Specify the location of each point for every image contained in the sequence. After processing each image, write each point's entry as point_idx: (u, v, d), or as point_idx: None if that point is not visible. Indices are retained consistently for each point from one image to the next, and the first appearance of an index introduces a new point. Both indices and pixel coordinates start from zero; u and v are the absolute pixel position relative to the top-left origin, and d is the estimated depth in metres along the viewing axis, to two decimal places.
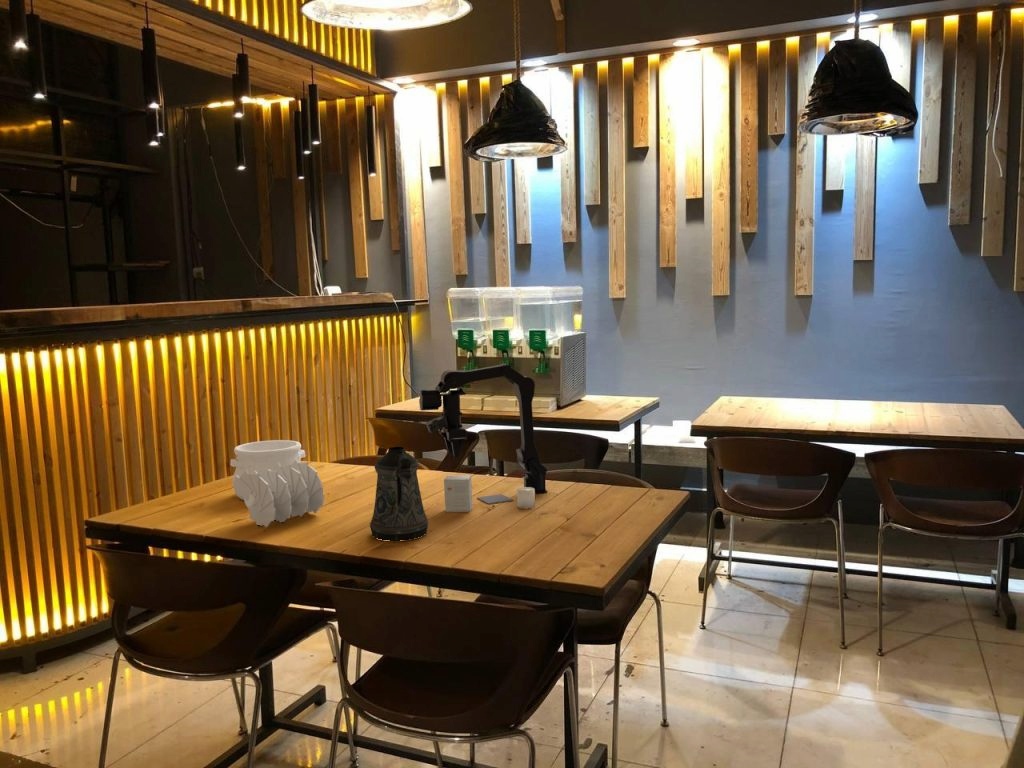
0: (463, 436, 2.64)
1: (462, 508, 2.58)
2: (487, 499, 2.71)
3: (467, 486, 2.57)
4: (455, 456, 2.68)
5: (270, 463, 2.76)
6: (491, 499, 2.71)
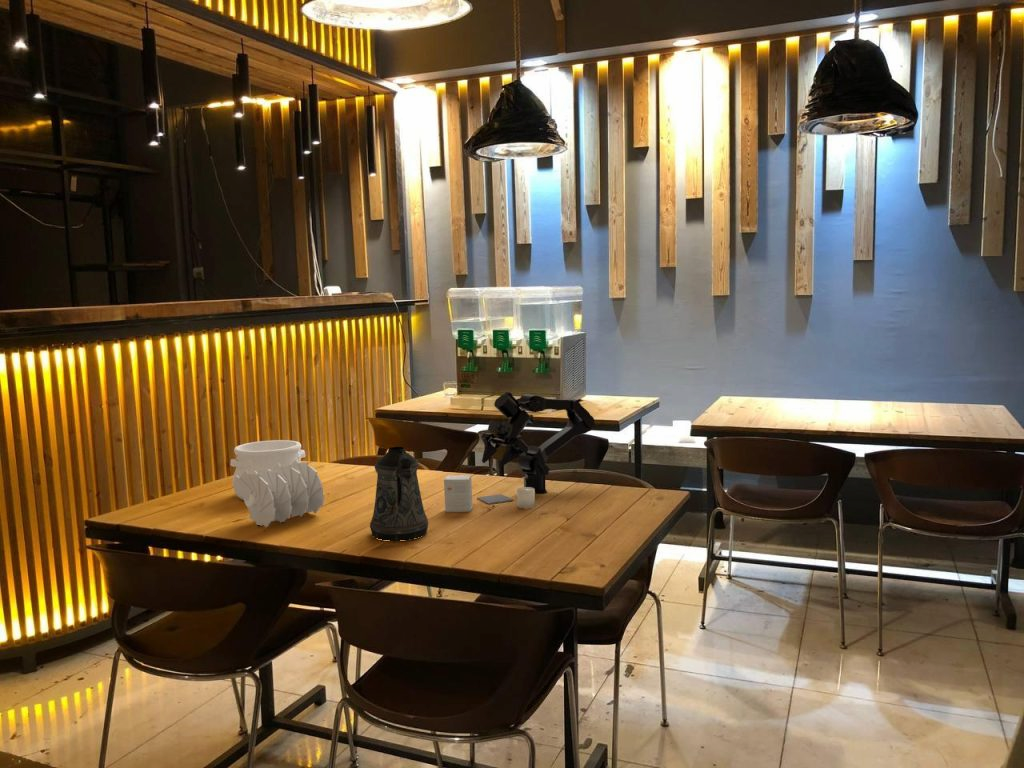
0: (524, 451, 2.66)
1: (462, 508, 2.58)
2: (487, 499, 2.71)
3: (467, 486, 2.57)
4: (501, 464, 2.66)
5: (270, 463, 2.76)
6: (491, 499, 2.71)
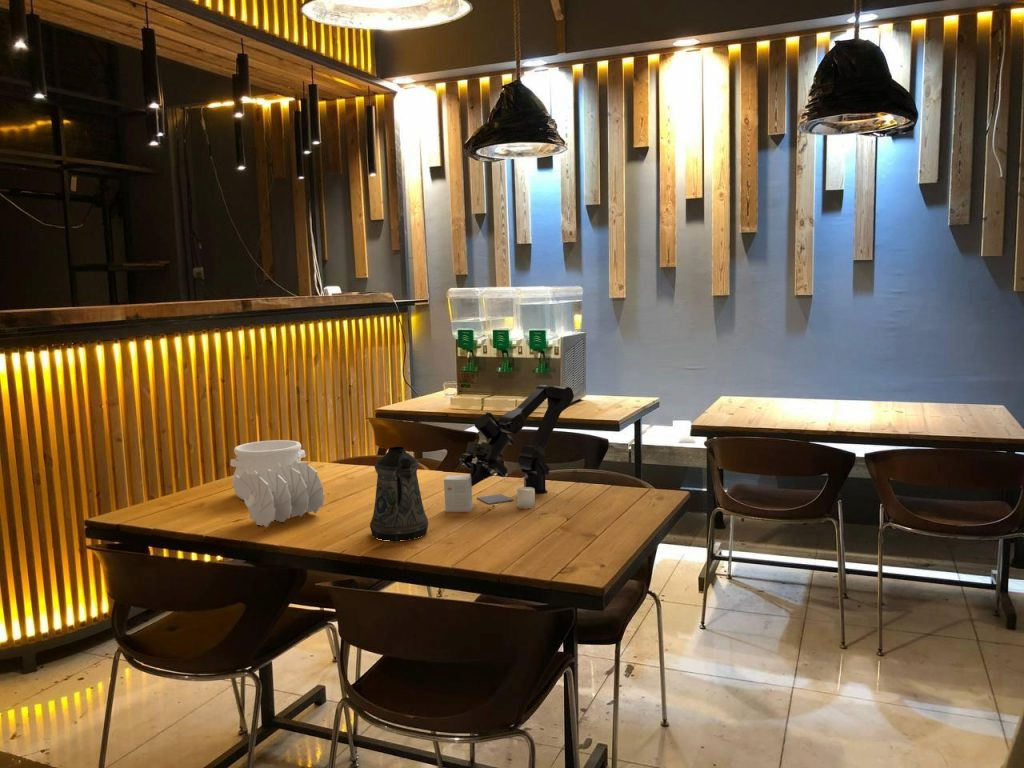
0: (503, 473, 2.60)
1: (462, 508, 2.58)
2: (487, 499, 2.71)
3: (467, 486, 2.57)
4: None
5: (270, 463, 2.76)
6: (491, 499, 2.71)
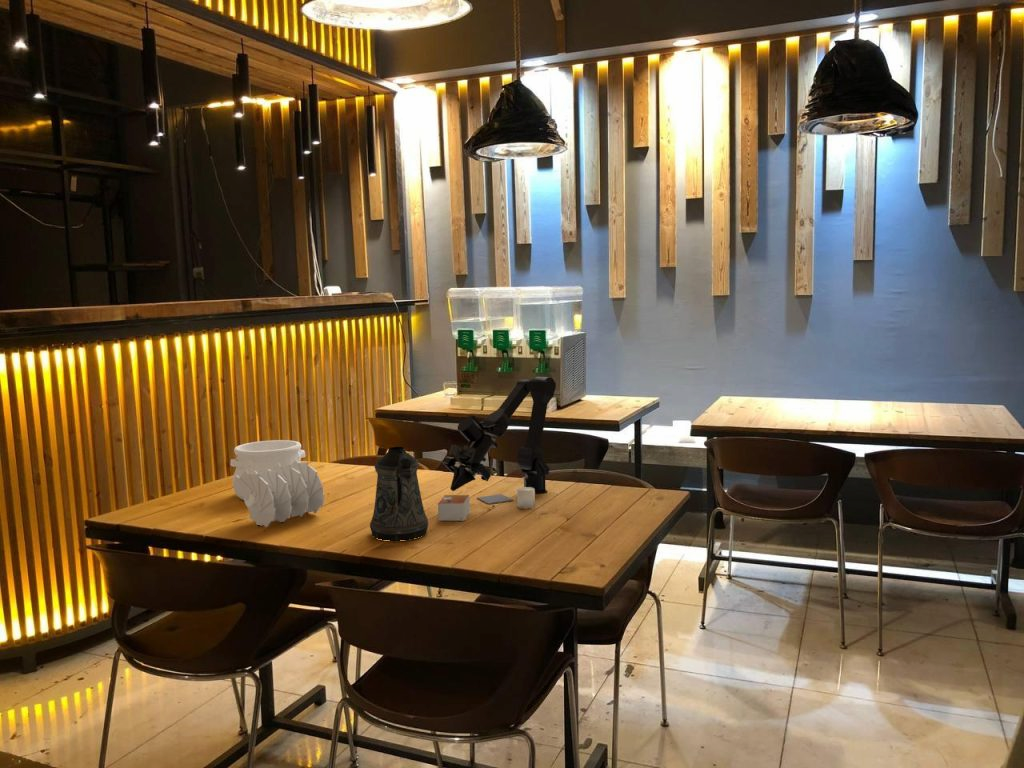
0: (486, 477, 2.55)
1: None
2: (487, 499, 2.71)
3: None
4: (453, 488, 2.58)
5: (270, 463, 2.76)
6: (491, 499, 2.71)
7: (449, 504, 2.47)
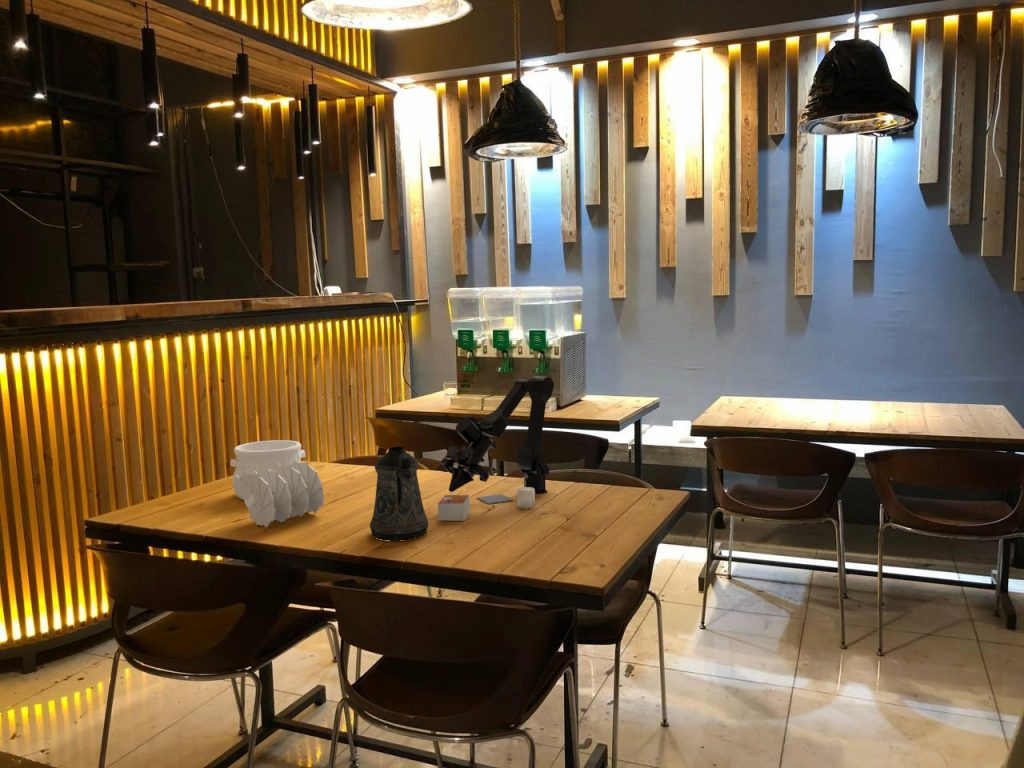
0: (485, 478, 2.55)
1: None
2: (487, 499, 2.71)
3: None
4: (451, 489, 2.58)
5: (270, 463, 2.76)
6: (491, 499, 2.71)
7: (449, 504, 2.47)
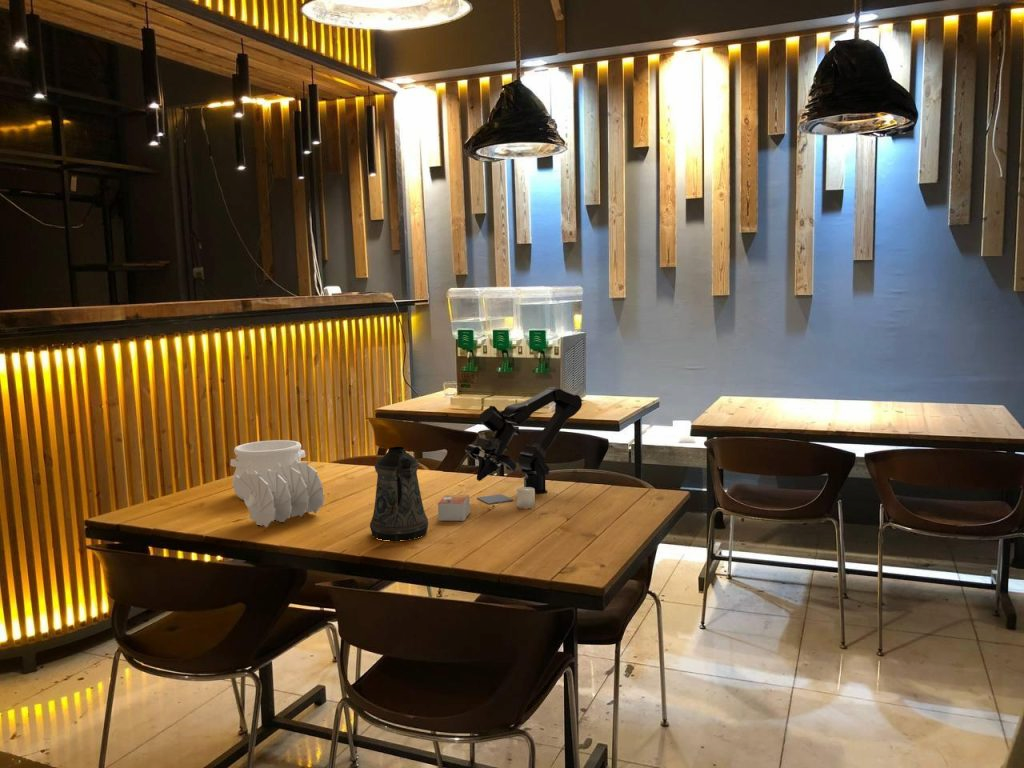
0: (513, 469, 2.64)
1: None
2: (487, 499, 2.71)
3: None
4: (479, 478, 2.66)
5: (270, 463, 2.76)
6: (491, 499, 2.71)
7: (449, 504, 2.47)
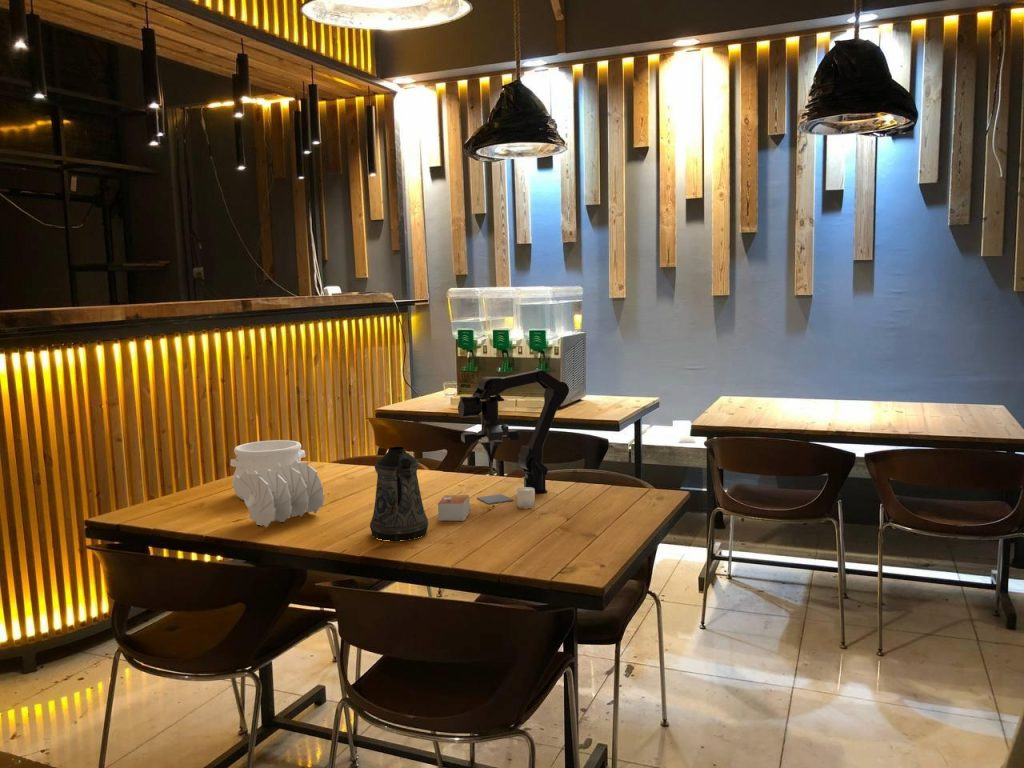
0: None
1: None
2: (487, 499, 2.71)
3: None
4: None
5: (270, 463, 2.76)
6: (491, 499, 2.71)
7: (449, 504, 2.47)
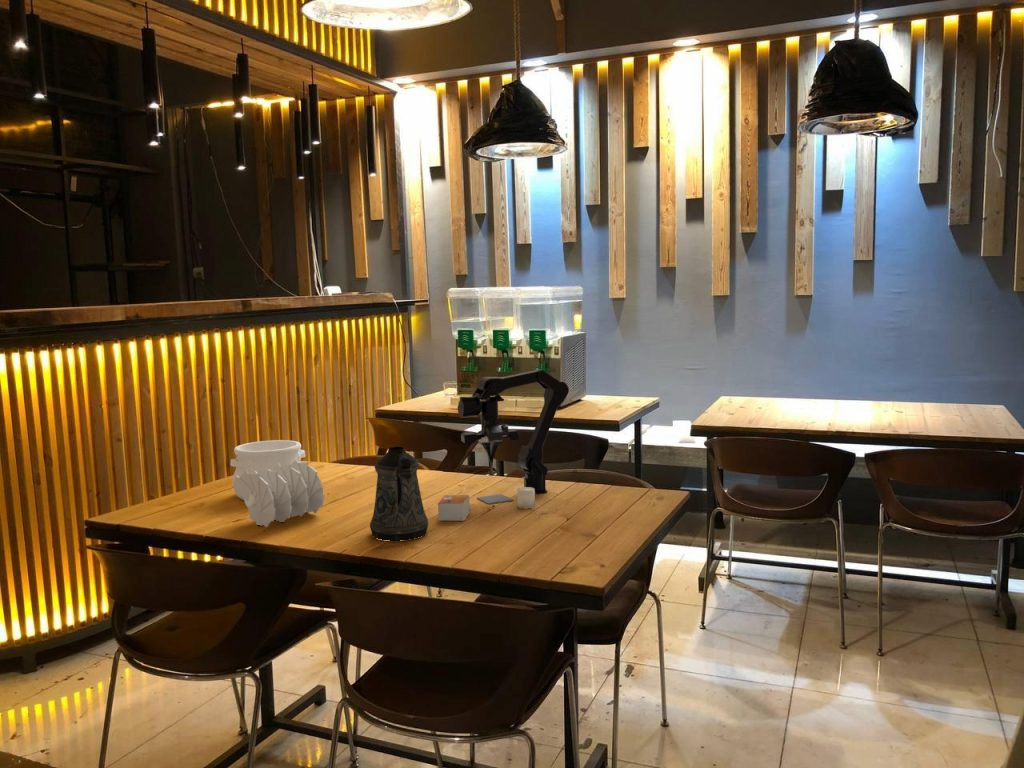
0: None
1: None
2: (487, 499, 2.71)
3: None
4: None
5: (270, 463, 2.76)
6: (491, 499, 2.71)
7: (449, 504, 2.47)
